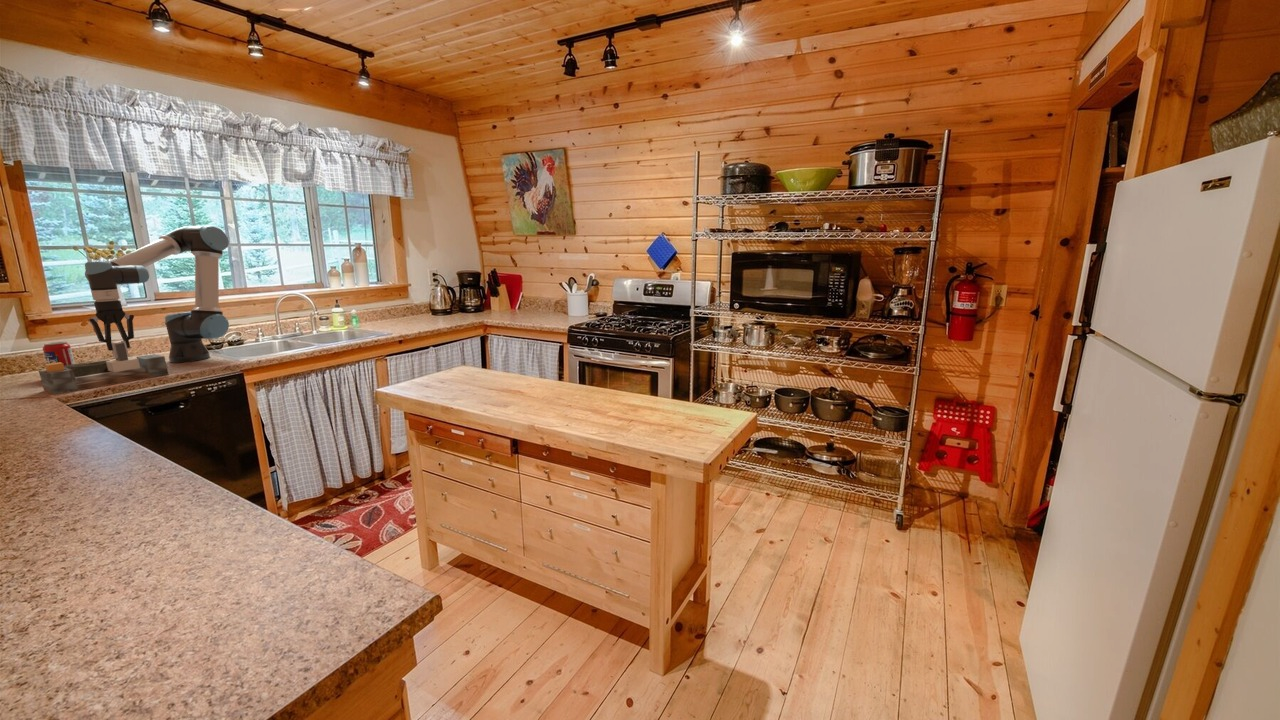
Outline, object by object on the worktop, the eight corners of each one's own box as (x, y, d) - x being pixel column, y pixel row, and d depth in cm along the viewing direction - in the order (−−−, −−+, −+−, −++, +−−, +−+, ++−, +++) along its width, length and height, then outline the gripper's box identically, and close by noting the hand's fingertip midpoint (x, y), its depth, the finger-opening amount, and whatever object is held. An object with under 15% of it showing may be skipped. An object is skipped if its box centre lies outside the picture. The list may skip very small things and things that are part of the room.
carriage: (134, 366, 216) (128, 341, 213) (140, 368, 212) (134, 342, 210) (108, 370, 209) (101, 344, 207) (114, 372, 205) (107, 345, 203)
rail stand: (158, 371, 224) (154, 354, 222) (168, 374, 219) (164, 356, 217) (44, 391, 196) (38, 370, 194) (52, 394, 190) (46, 373, 188)
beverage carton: (116, 375, 220) (112, 360, 218) (49, 385, 206) (44, 369, 205) (115, 372, 225) (112, 358, 224) (50, 381, 212) (46, 366, 210)
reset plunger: (63, 373, 197) (60, 362, 196) (66, 374, 195) (63, 363, 194) (47, 375, 194) (44, 364, 193) (50, 376, 192) (47, 365, 191)
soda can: (81, 375, 221) (72, 341, 217) (55, 379, 214) (45, 344, 210) (73, 373, 224) (64, 340, 221) (47, 378, 217) (37, 343, 214)
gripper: (82, 302, 196) (97, 361, 201) (136, 298, 209) (149, 354, 214) (76, 302, 200) (91, 360, 205) (129, 298, 213) (143, 352, 218)
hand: (121, 357), depth 209 cm, fingers open, 3 cm apart
